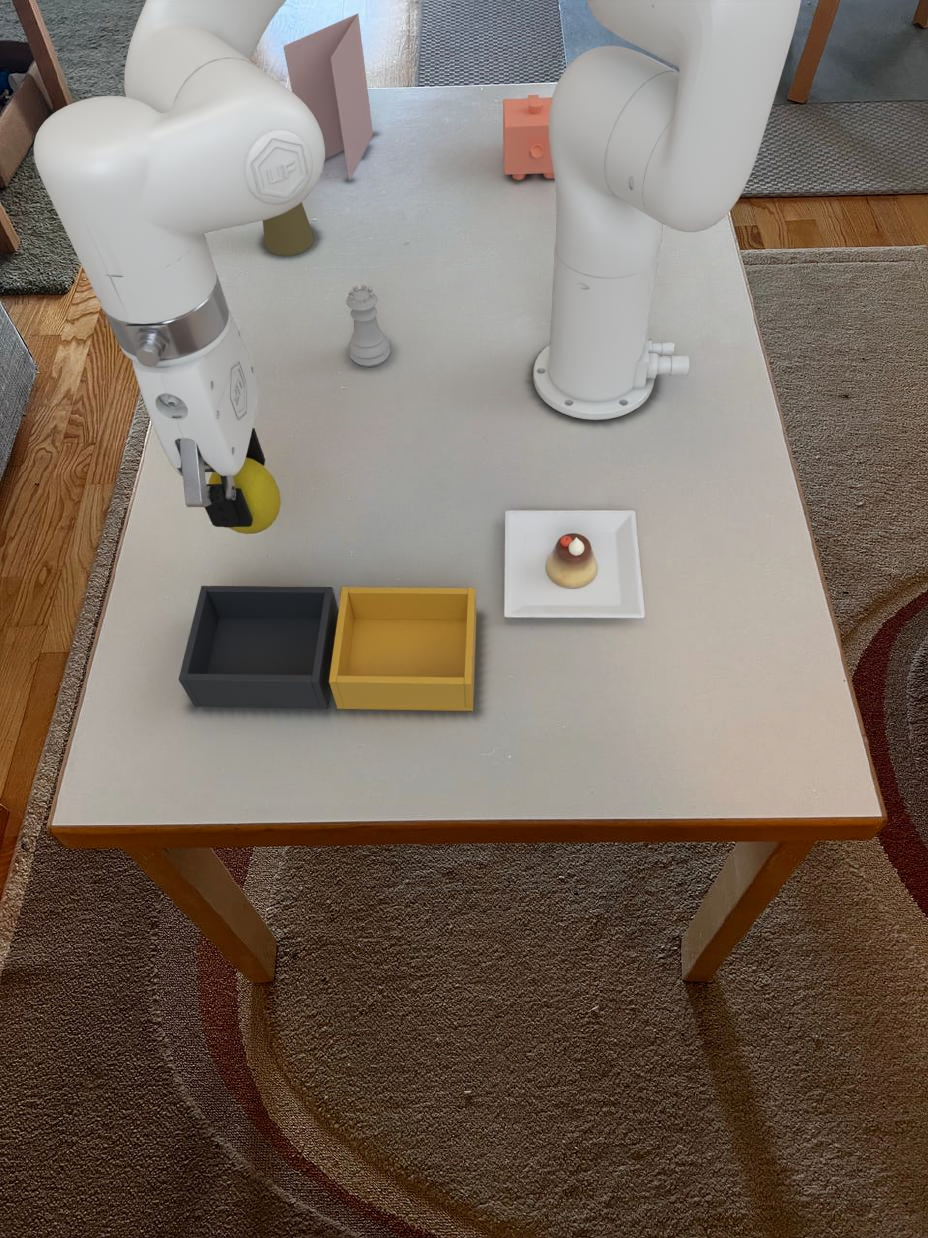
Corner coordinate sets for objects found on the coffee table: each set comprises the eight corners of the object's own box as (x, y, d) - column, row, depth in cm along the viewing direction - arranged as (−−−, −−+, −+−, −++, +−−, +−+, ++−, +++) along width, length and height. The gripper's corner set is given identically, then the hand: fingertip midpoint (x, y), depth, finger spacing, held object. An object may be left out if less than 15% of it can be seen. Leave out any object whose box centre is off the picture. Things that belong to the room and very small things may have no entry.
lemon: (267, 560, 76) (236, 504, 69) (215, 536, 78) (180, 479, 71) (303, 511, 78) (277, 452, 71) (252, 489, 80) (222, 429, 73)
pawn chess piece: (305, 257, 109) (287, 169, 100) (258, 253, 110) (236, 165, 101) (320, 228, 113) (303, 140, 103) (273, 224, 113) (253, 136, 104)
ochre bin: (476, 617, 79) (475, 587, 76) (473, 711, 74) (471, 683, 71) (349, 616, 80) (341, 586, 76) (337, 709, 75) (328, 681, 71)
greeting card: (368, 132, 125) (353, 10, 112) (403, 152, 122) (392, 29, 109) (302, 165, 121) (279, 43, 108) (336, 187, 117) (316, 64, 105)
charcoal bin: (340, 616, 80) (332, 586, 76) (327, 709, 75) (318, 681, 71) (215, 615, 81) (201, 585, 77) (194, 706, 75) (178, 679, 72)
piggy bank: (505, 196, 115) (505, 131, 108) (502, 145, 122) (502, 80, 115) (567, 194, 115) (570, 128, 108) (561, 143, 121) (564, 78, 115)
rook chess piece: (343, 363, 99) (331, 300, 92) (360, 337, 101) (350, 274, 94) (380, 372, 97) (371, 310, 91) (397, 346, 100) (389, 283, 93)
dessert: (505, 517, 86) (505, 483, 82) (633, 517, 85) (639, 483, 81) (504, 624, 79) (504, 592, 75) (643, 625, 78) (651, 592, 74)
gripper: (198, 403, 54) (269, 579, 69) (246, 228, 63) (300, 417, 79) (76, 404, 55) (173, 579, 70) (141, 231, 64) (215, 418, 79)
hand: (239, 492), depth 74 cm, fingers closed on lemon, 5 cm apart
